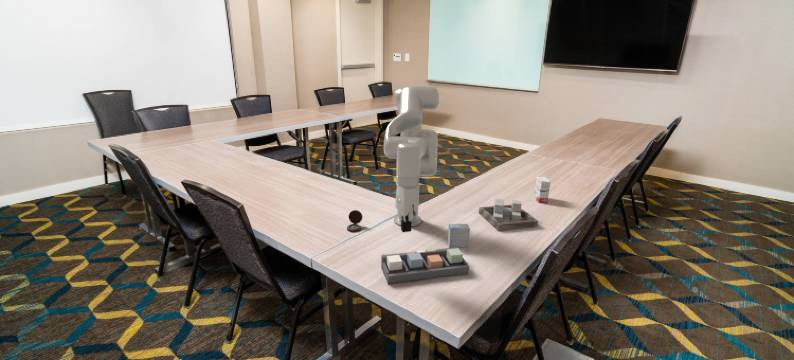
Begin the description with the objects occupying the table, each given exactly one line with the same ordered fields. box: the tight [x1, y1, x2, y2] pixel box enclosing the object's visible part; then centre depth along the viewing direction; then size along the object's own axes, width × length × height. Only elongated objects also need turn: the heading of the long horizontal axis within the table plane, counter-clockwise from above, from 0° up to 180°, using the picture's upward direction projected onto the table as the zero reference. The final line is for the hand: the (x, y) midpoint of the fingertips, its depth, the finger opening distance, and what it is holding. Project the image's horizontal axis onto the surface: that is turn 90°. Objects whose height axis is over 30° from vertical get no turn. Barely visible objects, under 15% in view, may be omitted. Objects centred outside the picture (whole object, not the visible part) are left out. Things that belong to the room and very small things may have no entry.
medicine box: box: [447, 223, 471, 248], centre depth 162 cm, size 8×4×9 cm, turn 92°
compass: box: [346, 209, 366, 233], centre depth 174 cm, size 8×8×7 cm
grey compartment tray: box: [380, 247, 470, 285], centre depth 143 cm, size 11×30×5 cm, turn 104°
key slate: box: [407, 253, 423, 268], centre depth 142 cm, size 4×4×3 cm
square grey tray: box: [478, 204, 539, 232], centre depth 187 cm, size 20×20×3 cm
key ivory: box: [387, 255, 402, 271], centre depth 140 cm, size 4×4×3 cm
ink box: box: [533, 176, 551, 204], centre depth 210 cm, size 9×5×12 cm, turn 179°
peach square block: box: [427, 255, 443, 269], centre depth 144 cm, size 4×4×3 cm
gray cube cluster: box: [492, 198, 522, 223], centre depth 186 cm, size 12×12×8 cm
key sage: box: [446, 247, 464, 263], centre depth 145 cm, size 4×4×3 cm
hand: (406, 230), depth 137 cm, fingers closed
